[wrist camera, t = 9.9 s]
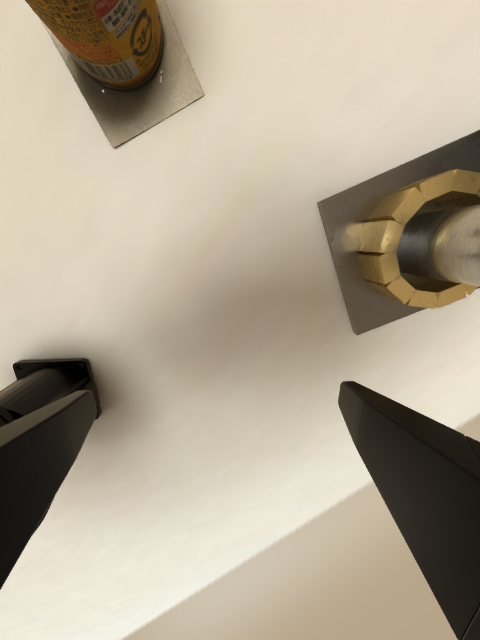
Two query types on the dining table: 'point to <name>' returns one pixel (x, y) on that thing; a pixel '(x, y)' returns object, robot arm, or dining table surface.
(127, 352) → the dining table surface
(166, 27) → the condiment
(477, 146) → the collar stand
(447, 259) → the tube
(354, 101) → the dining table surface
